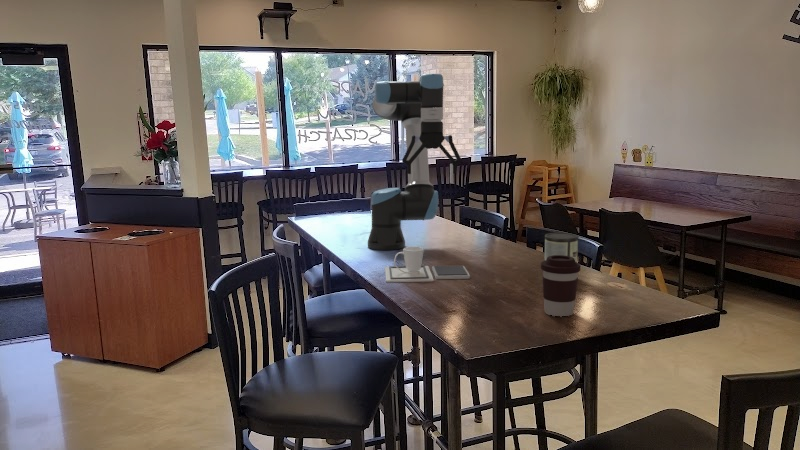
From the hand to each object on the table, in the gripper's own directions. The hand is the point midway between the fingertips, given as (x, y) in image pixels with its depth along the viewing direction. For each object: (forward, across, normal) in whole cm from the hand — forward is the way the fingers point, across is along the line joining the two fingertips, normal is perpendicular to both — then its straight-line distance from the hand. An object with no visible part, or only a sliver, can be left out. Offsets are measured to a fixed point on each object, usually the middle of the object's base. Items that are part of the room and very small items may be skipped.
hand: (431, 183), depth 208 cm
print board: (+28, -9, -14) cm, 33 cm away
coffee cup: (+28, +30, -56) cm, 69 cm away
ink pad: (+28, +5, -14) cm, 32 cm away
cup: (+28, -8, -14) cm, 32 cm away
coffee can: (+28, +40, -22) cm, 53 cm away
